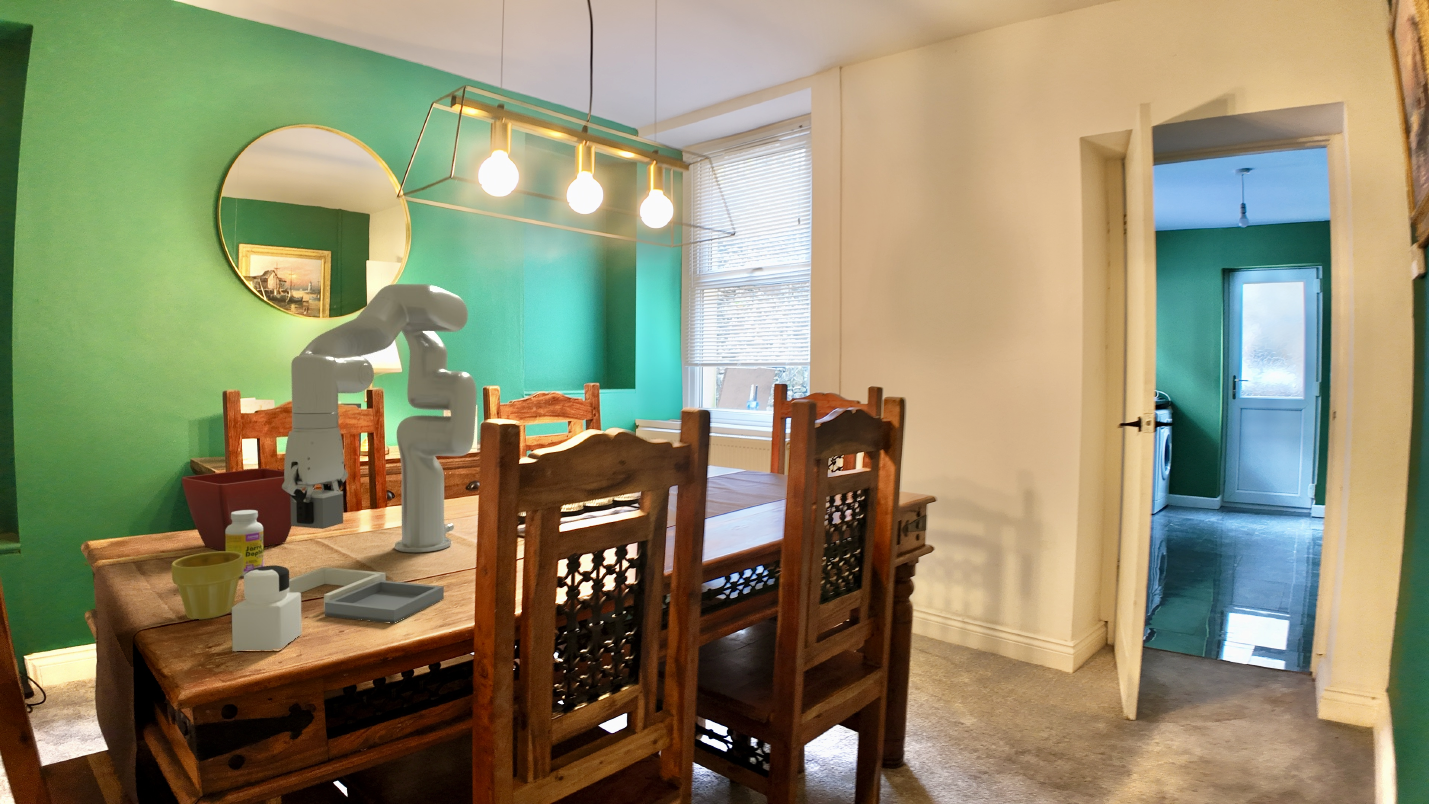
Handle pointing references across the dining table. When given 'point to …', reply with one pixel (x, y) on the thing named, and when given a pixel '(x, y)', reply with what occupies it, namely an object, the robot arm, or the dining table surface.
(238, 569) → the plant pot
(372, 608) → the tray
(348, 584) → the bay
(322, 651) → the dining table surface
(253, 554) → the supplement bottle
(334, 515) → the gray block
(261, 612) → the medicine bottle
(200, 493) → the plant pot
